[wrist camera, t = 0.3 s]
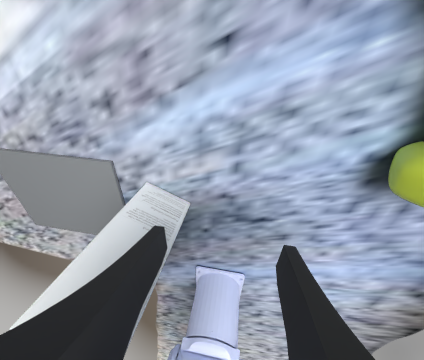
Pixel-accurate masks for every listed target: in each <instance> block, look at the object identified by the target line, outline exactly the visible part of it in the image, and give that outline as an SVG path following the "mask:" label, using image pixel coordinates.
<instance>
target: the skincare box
mask: <svg viewBox="0 0 424 360" xmlns="http://www.w3.org/2000/svg"><path fill="white" fill-rule="evenodd" d="M189 207H190V202H188V201H186V200H184V199H181V198H179V197H177V196H175V195H173V194H171V193H169V192H167V191H165V190H163V189H161V188H158V187H156V186H154V185H152V184H150V183H148V182H146V183H145V185H144V186H143V187H142V188H141V189H140V190H139V191H138V192H137V193H136V194H135V195H134V196H133V198H132V199H131V200H130V201H129V202H128V203H127V204H126V205H125V206H124V207H123V208H122V209H121V210H120V211H119V212H118V213H117V215H116V216H115V217H114V218H113V219H112V220H111V221H110V222H109V223H108V224H107V225H106V226H105V227H104V228H103V230H102V231H101V232H100V233H99V234H98V235H97V236H96V237H95V238H94V239H93V240H92V241H91V242H90V243H89V244H88V246H87V247H86V248H85V249H84V250H83V251H82V252H81V253H80V254H79V255H78V256H77V257H76V258H75V259H74V260H73V261H72V262H71V264H70V265H69V266H68V267H67V268H66V269H65V270H64V271H63V272H62V273H61V274H60V275H59V277H58V278H56V280H55V281H54V282H53V283H52V284H51V285H50V286H49V287H48V288H47V289H46V290H45V291H44V292H43V293H42V294H41V295H40V297H39V298H38V299H37V300H36V301H35V302H34V303H33V304H32V306H30V307H29V308H28V309H27V310H26V312H25V313H24V314H23V315H22V316H21V317H20V318H19V319H18V320H17V321H16V322H15V323H14V325H12V327H11V328H10V330H11V329H13V328H15V327H16V326H18V325H20V324H22V323H24V322H25V321H27V320H29V319H31V318H33V317H35V316H36V315H38V314H40V313H41V312H43V311H45V310H46V309H48V308H50V307H51V306H53V305H54V304H56V303H58V302H59V301H61V300H63V299H64V298H66V297H67V296H69V295H70V294H72V293H73V292H75V291H76V290H78V289H79V288H81V287H82V286H84V285H85V284H87V283H88V282H89V281H91V280H92V279H94V278H95V277H96V276H98V275H99V274H100V273H102V272H103V271H104V270H105V269H107V268H108V267H109V266H110V265H112V264H113V263H114V262H115V261H116V260H118V259H119V258H120V257H121V256H122V255H124V254H125V253H126V252H127V251H128V250H129V249H130V248H131V247H132V246H133V245H135V244H136V243H137V242H138V241H139V240H140V239H141V238H142V237H143V236H144V235H145V234H146V233H147V232H148V231H149V230H150V229H151V228H152V227H153V226H155V225H156V226H163V227H164V228H165V235H166V241H167V251H166V254H165V257H164V260H163V263H162V265H161V268H160V270H159V272H158V274H157V276H156V278H155V280H154V283H153V285H152V287H151V289H150V291H149V293H148V295H147V297H146V300H145V302H144V304H143V306H142V309H141V311H140V314H139V316H138V319H137V322H136V324H135V327H134V330H133V333H132V335H131V338H130V341H129V344H130V342H131V339H132V337H133V335H134V332H135V330H136V328H137V326H138V323H139V321H140V319H141V317H142V314H143V312H144V310H145V307H146V305H147V303H148V301H149V298H150V296H151V294H152V291H153V289H154V287H155V285H156V282H157V280H158V278H159V276H160V273H161V271H162V269H163V266H164V264H165V262H166V259H167V257H168V255H169V252H170V250H171V248H172V245H173V243H174V241H175V239H176V236H177V234H178V232H179V229H180V227H181V225H182V223H183V220H184V218H185V216H186V214H187V211H188V209H189ZM129 344H128V346H129ZM127 348H128V347H127Z"/></svg>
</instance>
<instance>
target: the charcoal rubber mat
mask: <svg viewBox="0 0 424 360" xmlns="http://www.w3.org/2000/svg"><path fill="white" fill-rule="evenodd" d="M0 174H1V175H2V177H3V178H4V180H5V181H6V183H7V184H8V185H9V187H10V188H11V190H12V191H13V193H14V194H15V195H16V197H17V198H18V200H19V201H20V203H21V204H22V205H23V207H24V208H25V210H26V211H27V213H28V214H29V216H30V217H31V218H32V220H33V221H34V223H35V224H36V225H40V226H46V227H52V228H58V229H64V230H70V231H76V232H82V233H88V234H94V235H98V234H99V233H100V232H101V231H102V230H103V228H104V227H105V226H106V225H107V224H108V223H109V222H110V221H111V220H112V219H113V218H114V217H115V216H116V215H117V213H118V212H119V211H120V210H121V209H122V208H123V207H124V206H125V202H124V198H123V195H122V192H121V188H120V185H119V181H118V178H117V175H116V171H115V168H114V164H113V161H108V160H99V159H90V158H81V157H72V156H63V155H54V154H45V153H36V152H27V151H18V150H9V149H0Z"/></svg>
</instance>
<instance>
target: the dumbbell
mask: <svg viewBox="0 0 424 360" xmlns="http://www.w3.org/2000/svg"><path fill="white" fill-rule="evenodd" d="M388 182H389V187H390V189H391V191H392V192H393V193H395V194H396V195H397V196H399V197H401V198H403V199H405V200H407V201H409V202H412V203H414V204H416V205H419V206H421V207H424V141H421V142H416V143H412V144H409V145H406V146H404V147H402V148H400V149H399V150H398V151H397V152H396V154H395V156H394V158H393V160H392V163H391V166H390V170H389V177H388Z"/></svg>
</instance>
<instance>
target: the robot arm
mask: <svg viewBox="0 0 424 360" xmlns="http://www.w3.org/2000/svg"><path fill="white" fill-rule="evenodd" d="M166 251H167V241H166V235H165V228H164V227H163V226H156V225H155V226H153V227H152V228H151V229H150V230H149V231H148V232H147V233H146V234H145V235H144V236H143V237H142V238H141V239H140V240H139V241H138V242H137V243H136V244H135V245H133V246H132V247H131V248H130V249H129V250H128V251H127V252H126V253H125V254H124V255H122V256H121V257H120V258H119V259H118V260H116V261H115V262H114V263H113V264H112V265H110V266H109V267H108V268H107V269H105V270H104V271H103V272H102V273H100V274H99V275H98V276H96V277H95V278H94V279H92V280H91V281H89V282H88V283H87V284H85V285H84V286H82V287H81V288H79V289H78V290H76V291H75V292H73V293H72V294H70V295H69V296H67V297H66V298H64V299H63V300H61V301H59V302H58V303H56V304H54V305H53V306H51V307H50V308H48V309H46V310H45V311H43V312H41V313H40V314H38V315H36V316H35V317H33V318H31V319H29V320H27V321H25V322H24V323H22V324H20V325H18V326H16V327H15V328H13V329H11V330H9V331H7V332H6V333H4V334H2V335H0V360H123V358H124V355H125V353H126V350H127V347H128V344H129V341H130V338H131V335H132V333H133V330H134V327H135V324H136V322H137V319H138V316H139V314H140V311H141V309H142V306H143V304H144V302H145V300H146V297H147V295H148V293H149V291H150V289H151V287H152V285H153V283H154V280H155V278H156V276H157V274H158V272H159V270H160V268H161V265H162V263H163V260H164V257H165V254H166ZM276 274H277V286H278V292H279V298H280V303H281V309H282V314H283V320H284V325H285V331H286V338H287V346H288V356H289V360H375V359H374V358H373V356H372V355H371V354H370V353H369V352H368V351H367V349H366V348H365V347H364V346H363V344H362V343H361V342H360V341H359V340H358V338H357V337H356V336H355V335H354V333H353V332H352V331H351V330H350V328H349V327H348V326H347V324H346V323H345V322H344V320H343V319H342V318H341V316H340V315H339V314H338V312H337V311H336V310H335V308H334V307H333V305H332V304H331V303H330V301H329V300H328V298H327V297H326V295H325V294H324V292H323V291H322V289H321V288H320V286H319V285H318V283H317V282H316V280H315V279H314V277H313V276H312V274H311V272H310V271H309V269H308V267H307V266H306V264H305V262H304V261H303V259H302V257H301V255H300V254H299V252H298V250H297V248H296V247H294V246H287V245H284V246H283V249H282V252H281V254H280V257H279V260H278V262H277V265H276ZM244 279H245V275H244V274H240V273H234V272H229V271H223V270H217V269H212V268H206V267H201V266H197V267H196V293H195V298H194V302H193V306H192V311H191V315H190V320H189V324H188V328H187V333H186V337H183V339H182V344H181V345H180V344H177V345H176V346H175V347H174V348H173V349H172V350H171V352H170V354H169V357H168V359H167V360H243V359H240V350H238V322H239V300H240V295H241V291H242V287H243V283H244Z"/></svg>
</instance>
